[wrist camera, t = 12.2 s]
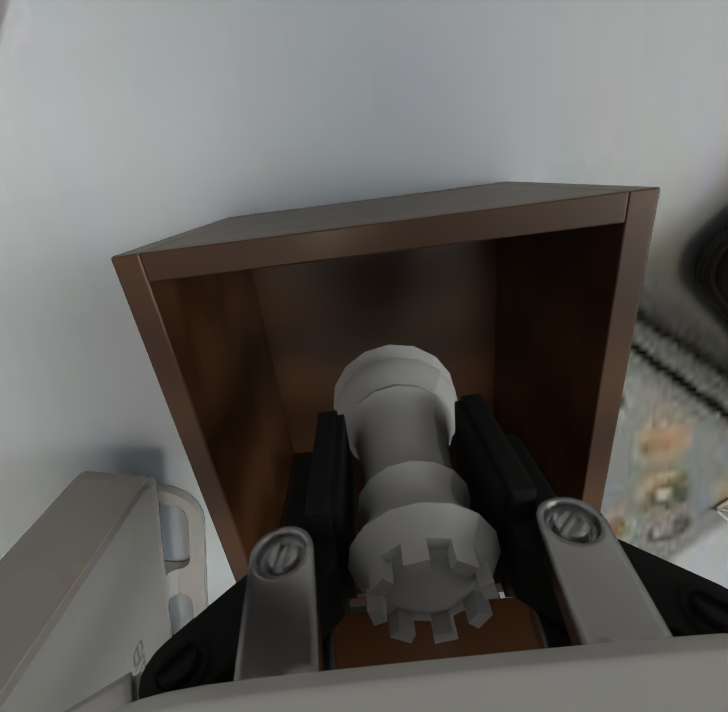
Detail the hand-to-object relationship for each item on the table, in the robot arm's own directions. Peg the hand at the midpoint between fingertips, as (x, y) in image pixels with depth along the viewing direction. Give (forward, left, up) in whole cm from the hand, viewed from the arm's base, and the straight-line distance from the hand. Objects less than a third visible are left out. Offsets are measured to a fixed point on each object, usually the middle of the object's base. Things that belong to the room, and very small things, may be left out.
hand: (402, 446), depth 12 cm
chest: (+1, 0, -12) cm, 12 cm away
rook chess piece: (0, 0, -3) cm, 3 cm away
